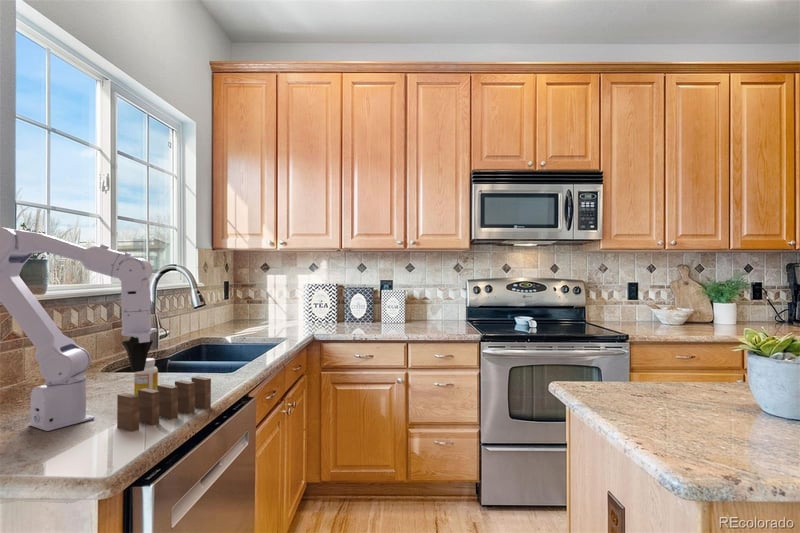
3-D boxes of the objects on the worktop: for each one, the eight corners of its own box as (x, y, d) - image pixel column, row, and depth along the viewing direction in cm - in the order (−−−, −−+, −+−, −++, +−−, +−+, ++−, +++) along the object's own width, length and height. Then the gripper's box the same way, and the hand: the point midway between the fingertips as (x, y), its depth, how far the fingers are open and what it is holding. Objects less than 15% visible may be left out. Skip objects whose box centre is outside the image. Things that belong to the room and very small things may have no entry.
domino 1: (131, 431, 98) (131, 397, 98) (117, 427, 100) (117, 394, 100) (139, 429, 99) (139, 396, 99) (124, 425, 102) (124, 392, 102)
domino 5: (205, 409, 114) (205, 379, 114) (191, 406, 116) (191, 377, 116) (210, 407, 115) (210, 378, 115) (196, 404, 118) (197, 376, 118)
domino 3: (171, 419, 106) (171, 388, 106) (157, 416, 108) (157, 385, 108) (177, 417, 107) (177, 386, 107) (163, 414, 110) (163, 383, 110)
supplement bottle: (152, 392, 128) (152, 356, 128) (161, 396, 125) (161, 359, 125) (130, 396, 124) (130, 359, 124) (139, 400, 121) (139, 362, 121)
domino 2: (152, 425, 102) (152, 392, 102) (137, 421, 104) (138, 389, 104) (159, 423, 103) (159, 391, 103) (144, 419, 106) (144, 388, 106)
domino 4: (188, 414, 110) (188, 383, 110) (174, 411, 112) (174, 381, 112) (194, 412, 111) (194, 382, 111) (180, 409, 114) (180, 379, 114)
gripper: (164, 311, 104) (166, 373, 104) (148, 307, 115) (149, 363, 115) (127, 314, 100) (129, 378, 100) (114, 310, 111) (116, 368, 111)
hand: (138, 371), depth 107 cm, fingers closed
